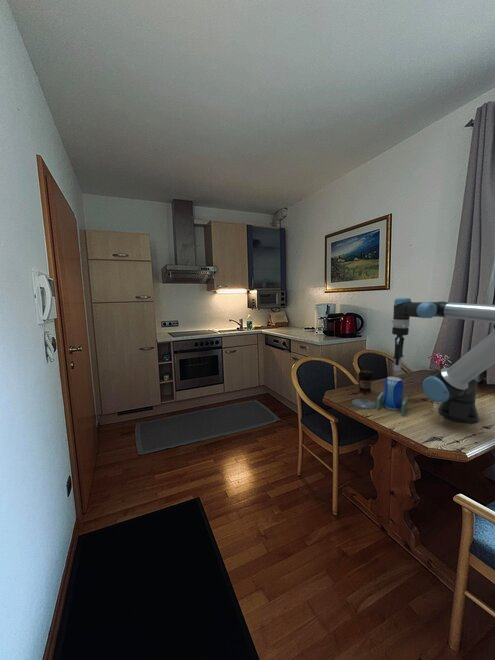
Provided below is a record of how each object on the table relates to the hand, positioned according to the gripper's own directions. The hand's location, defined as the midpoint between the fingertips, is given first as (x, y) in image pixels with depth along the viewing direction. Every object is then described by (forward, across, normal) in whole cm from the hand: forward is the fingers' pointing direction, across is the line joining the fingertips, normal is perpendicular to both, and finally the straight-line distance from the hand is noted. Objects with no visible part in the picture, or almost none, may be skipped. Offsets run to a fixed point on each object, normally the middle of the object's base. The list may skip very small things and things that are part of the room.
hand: (397, 369), depth 141 cm
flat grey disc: (+19, +14, -13) cm, 26 cm away
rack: (+19, +10, 0) cm, 21 cm away
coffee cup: (+19, -6, -17) cm, 26 cm away
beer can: (+19, +9, 0) cm, 21 cm away
